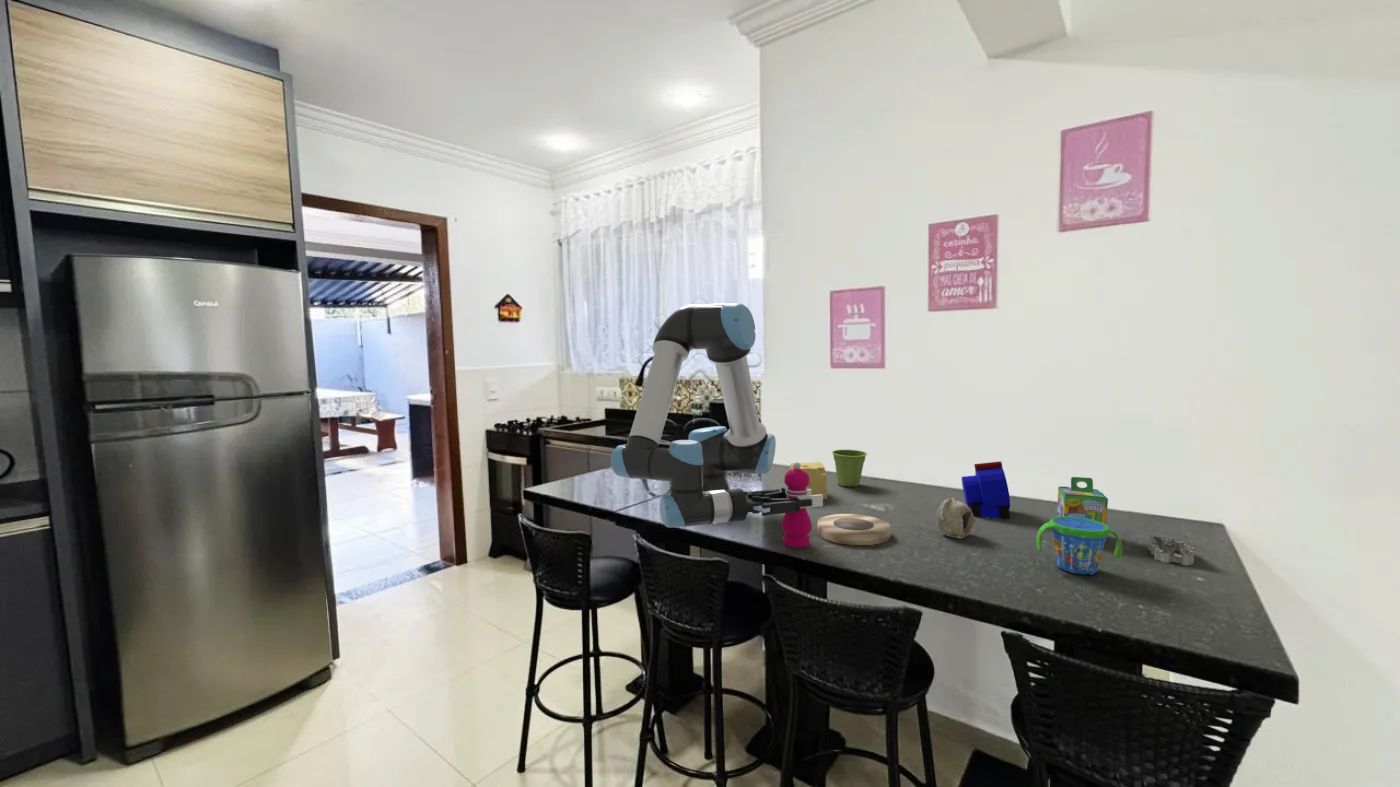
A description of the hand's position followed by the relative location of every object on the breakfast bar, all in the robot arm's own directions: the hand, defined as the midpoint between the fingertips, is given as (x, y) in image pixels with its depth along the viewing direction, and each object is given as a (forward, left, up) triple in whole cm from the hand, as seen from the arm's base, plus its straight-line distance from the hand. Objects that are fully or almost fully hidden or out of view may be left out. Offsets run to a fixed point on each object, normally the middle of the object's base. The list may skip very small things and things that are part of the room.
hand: (816, 497), depth 144 cm
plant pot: (-48, +39, -11) cm, 63 cm away
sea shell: (+7, +36, -11) cm, 38 cm away
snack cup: (+34, +44, -11) cm, 57 cm away
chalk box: (+18, +64, -11) cm, 67 cm away
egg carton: (+35, +70, -11) cm, 79 cm away
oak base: (-2, +12, -11) cm, 16 cm away
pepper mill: (0, -5, -11) cm, 12 cm away
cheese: (-40, +19, -11) cm, 46 cm away
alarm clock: (-7, +58, -11) cm, 59 cm away
